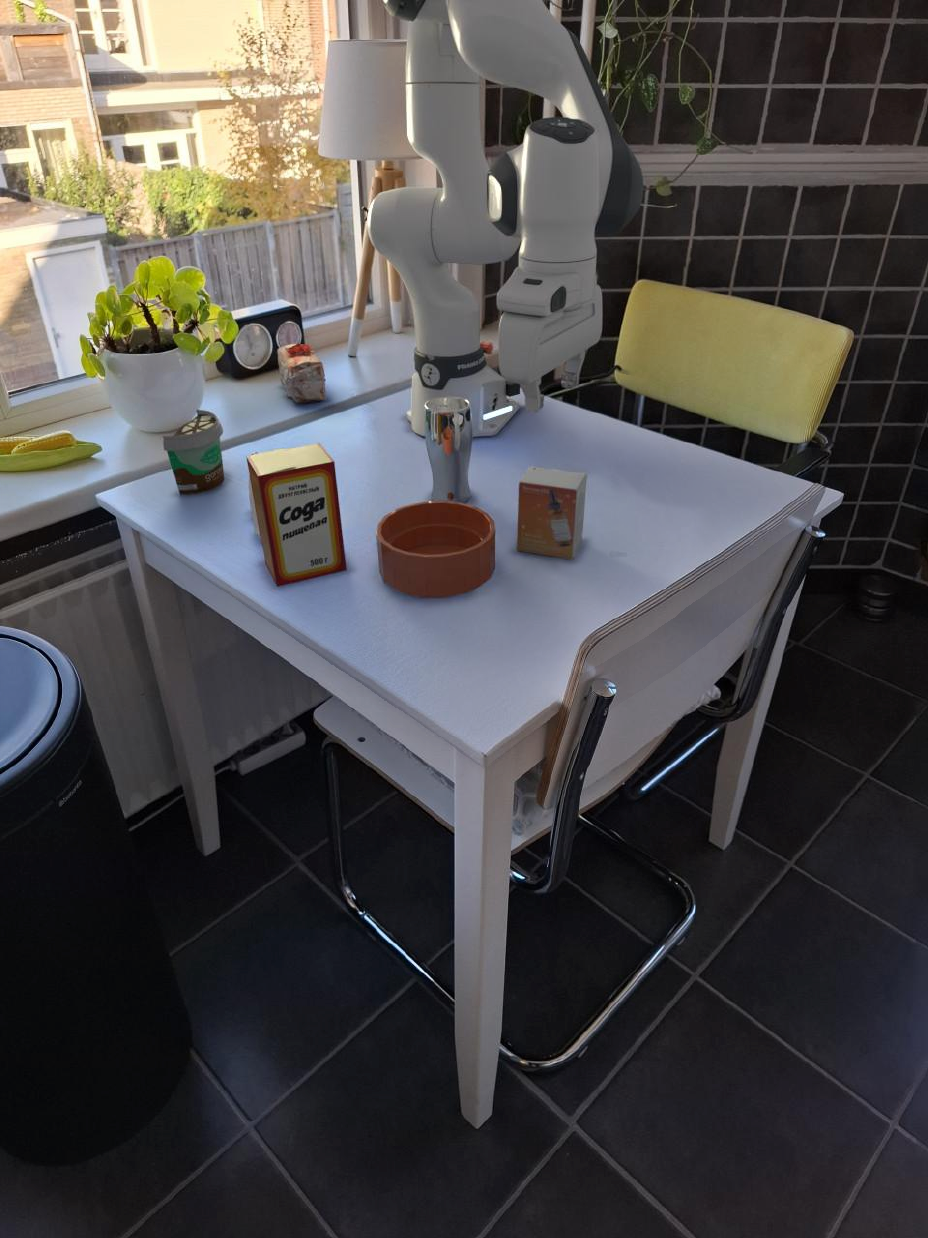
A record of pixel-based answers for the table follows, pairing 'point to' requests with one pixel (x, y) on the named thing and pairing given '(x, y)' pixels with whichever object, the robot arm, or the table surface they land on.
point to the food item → (301, 373)
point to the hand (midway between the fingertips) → (552, 397)
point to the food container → (196, 454)
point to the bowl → (436, 548)
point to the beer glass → (449, 447)
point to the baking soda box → (298, 513)
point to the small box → (551, 512)
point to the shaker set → (253, 507)
